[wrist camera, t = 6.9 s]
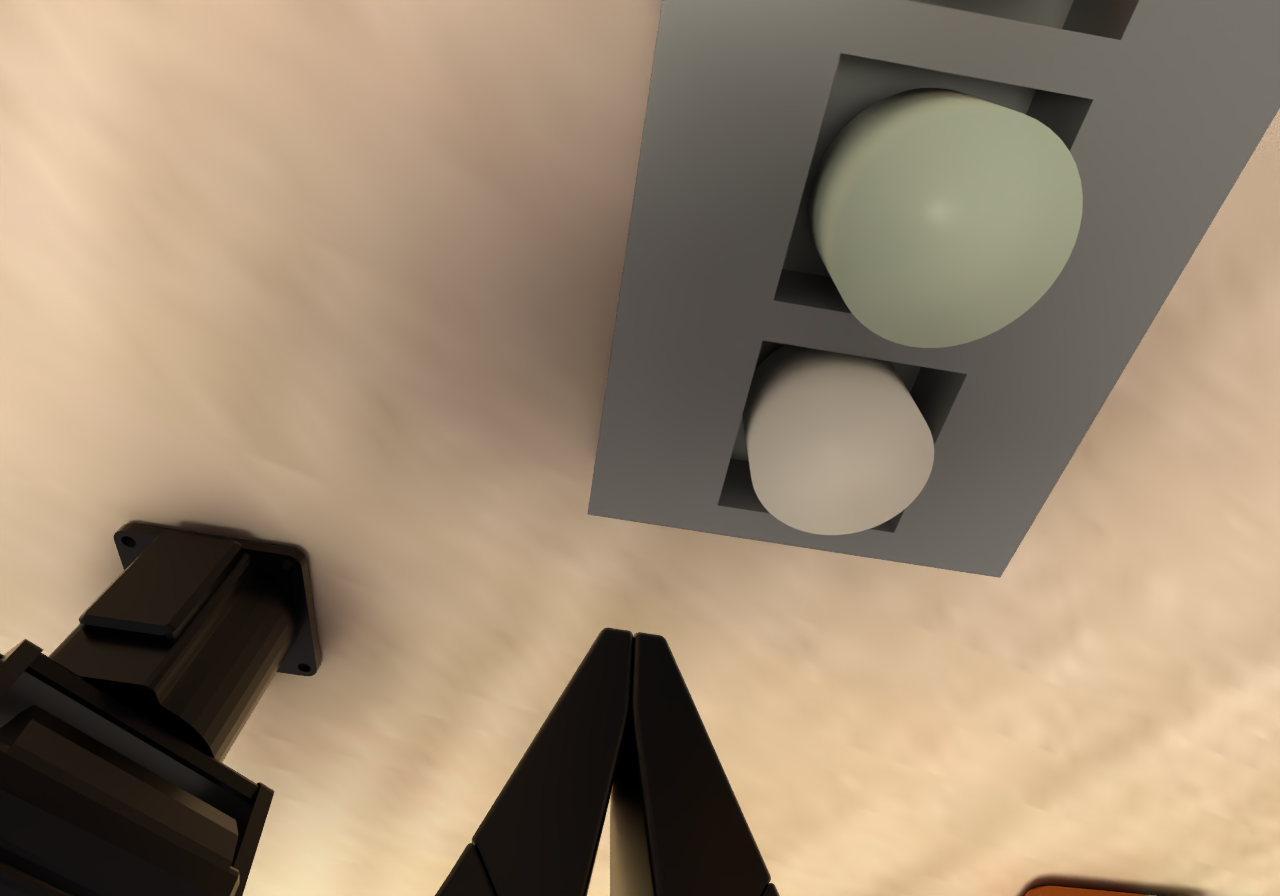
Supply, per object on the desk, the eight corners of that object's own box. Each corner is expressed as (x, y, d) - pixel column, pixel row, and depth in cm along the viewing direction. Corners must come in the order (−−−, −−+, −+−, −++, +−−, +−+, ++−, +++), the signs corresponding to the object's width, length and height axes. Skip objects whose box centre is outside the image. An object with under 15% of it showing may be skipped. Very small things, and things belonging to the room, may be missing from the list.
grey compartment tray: (964, 513, 23) (1000, 577, 20) (598, 455, 22) (587, 514, 20) (1400, -321, 12) (1583, -403, 10) (733, -463, 12) (746, -587, 9)
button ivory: (870, 480, 21) (896, 546, 18) (726, 457, 21) (732, 521, 18) (925, 347, 19) (964, 403, 16) (763, 321, 18) (776, 372, 16)
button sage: (965, 309, 17) (1016, 364, 14) (785, 278, 17) (803, 328, 14) (1052, 108, 14) (1131, 131, 12) (843, 69, 14) (878, 85, 12)
